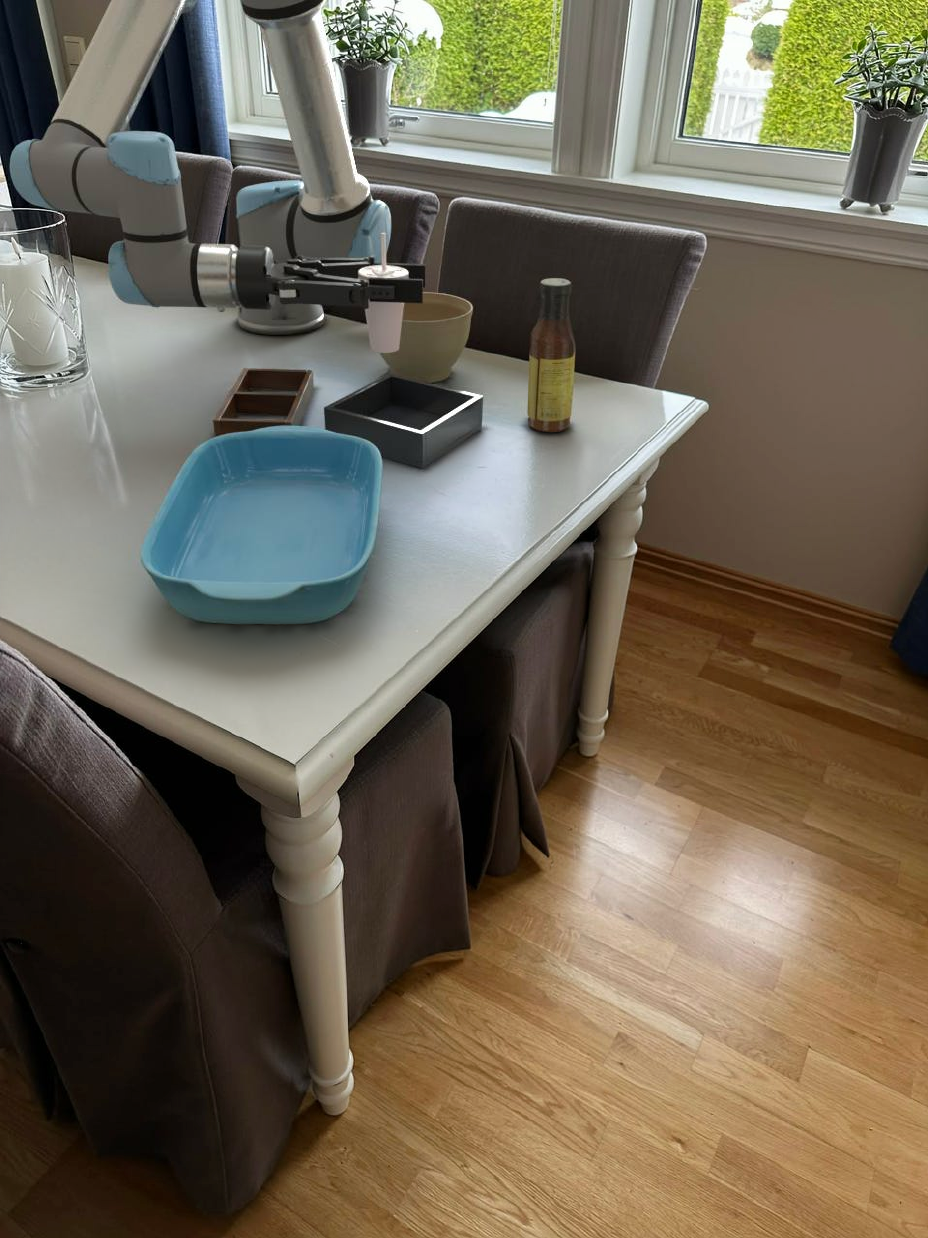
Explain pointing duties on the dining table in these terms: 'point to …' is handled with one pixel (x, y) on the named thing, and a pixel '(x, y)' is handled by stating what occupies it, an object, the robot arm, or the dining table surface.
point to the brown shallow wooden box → (265, 399)
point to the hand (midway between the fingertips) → (423, 283)
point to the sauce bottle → (551, 360)
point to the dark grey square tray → (407, 418)
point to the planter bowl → (431, 337)
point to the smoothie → (384, 308)
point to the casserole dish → (267, 526)
